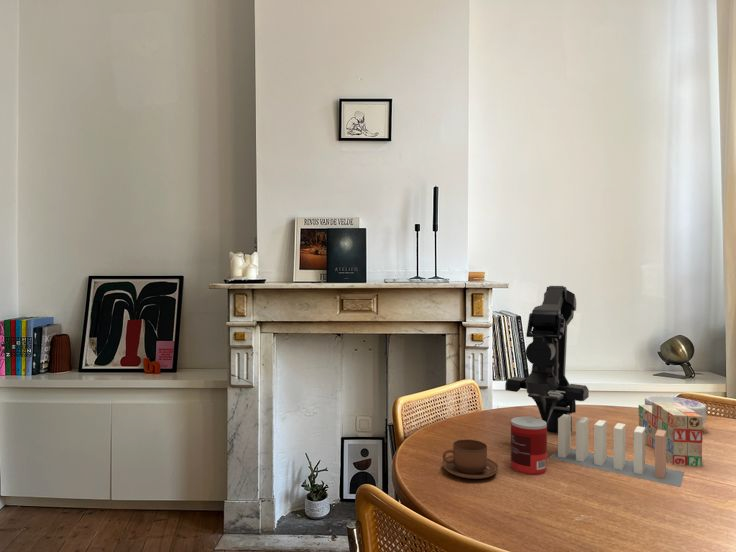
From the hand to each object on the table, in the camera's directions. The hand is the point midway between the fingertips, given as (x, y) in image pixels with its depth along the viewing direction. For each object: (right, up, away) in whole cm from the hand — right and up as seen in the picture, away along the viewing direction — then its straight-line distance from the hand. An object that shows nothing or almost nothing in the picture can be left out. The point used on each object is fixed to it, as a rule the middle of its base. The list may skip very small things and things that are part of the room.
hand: (545, 423), depth 120 cm
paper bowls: (+46, -8, +22) cm, 51 cm away
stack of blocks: (+31, -8, +1) cm, 32 cm away
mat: (+12, -7, -9) cm, 17 cm away
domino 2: (+7, -7, -5) cm, 11 cm away
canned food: (-8, -7, -12) cm, 16 cm away
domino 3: (+10, -7, -8) cm, 14 cm away
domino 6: (+20, -7, -15) cm, 25 cm away
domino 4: (+13, -7, -10) cm, 18 cm away
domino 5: (+16, -7, -12) cm, 22 cm away
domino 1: (+4, -7, -3) cm, 8 cm away
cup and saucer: (-21, -7, -13) cm, 26 cm away
